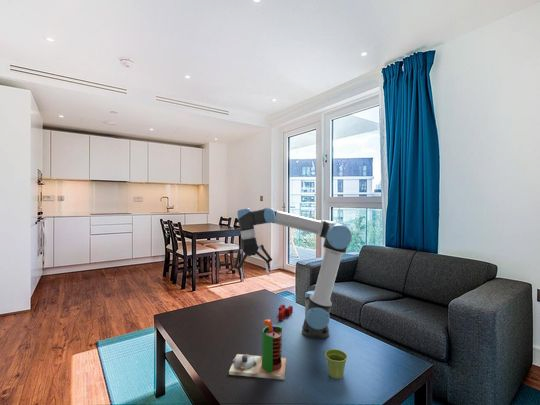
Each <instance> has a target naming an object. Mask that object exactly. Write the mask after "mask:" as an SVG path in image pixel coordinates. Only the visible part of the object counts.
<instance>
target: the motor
mask: <svg viewBox="0 0 540 405" xmlns="http://www.w3.org/2000/svg"><path fill="white" fill-rule="evenodd" d="M263 326H265V327H263V328H262V331H261V332H262V334H261V342H262V343H261V356H262V368H263V369H264V370H265V371H267V372H271V373H272V372H273V371H276V370H279V369H280V368H281V367H282V359H281V358H282V350H283V349H282V346H283V345H282V341H283V339H282V338H283V334H282V333H283V328H282V326H279V325H273V322H272V320H271V319H269V318H267V319H266V318H265V320H264V321H263Z"/></svg>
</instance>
